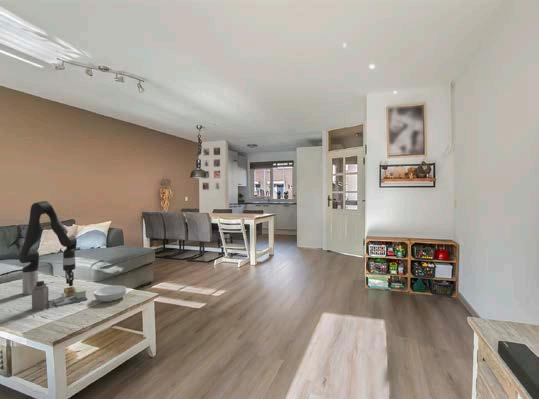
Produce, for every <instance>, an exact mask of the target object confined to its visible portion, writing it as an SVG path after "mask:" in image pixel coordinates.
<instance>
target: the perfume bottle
mask: <svg viewBox="0 0 539 399" xmlns="http://www.w3.org/2000/svg"><path fill="white" fill-rule="evenodd" d="M48 307H49V286H47V283H45V281H44V280H38V282H37V283H36V285H35V286H34V289H33V290H32V294H31V312H33V311H34V312H35V311H42V310H46V309H47V308H48Z"/></svg>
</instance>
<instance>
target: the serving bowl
mask: <svg viewBox="0 0 539 399" xmlns="http://www.w3.org/2000/svg"><path fill="white" fill-rule="evenodd" d="M127 289H128V288H127V287H126V286H124V285H108V286H104V287H100V288H97V289H96V290H94V292H93V296H94V298H95V299H96V300H97V301H100V302H113V300H114V301H116V300H119V299H121V298H123V297H124V296H125V295H126V292H127Z"/></svg>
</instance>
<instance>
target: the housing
mask: <svg viewBox="0 0 539 399" xmlns="http://www.w3.org/2000/svg"><path fill="white" fill-rule="evenodd" d="M74 291H75V297H76V298H77V299H80V298H84V297H87V296H86V294H87V290H86V289H85V288H84V287H81V288H76V289H75V290H74Z"/></svg>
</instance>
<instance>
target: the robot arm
mask: <svg viewBox="0 0 539 399" xmlns="http://www.w3.org/2000/svg"><path fill="white" fill-rule="evenodd" d="M29 212H30V213H29V220H28V224H27V229H26V232H25V236H24V242H23V245H22V247H21V249H20V252H19V256H18V261H19V262H20V263H21V264H28V265H26V266H24V267H23V268H22V270H21V271H22V272H21V273H22V278H21V279H22V286H21V287H22V295H24V296H29V295H32V290H33V289H34V286H35V285H36V283H37V282H38V281H39V266H40V265H39V263H40V262H39V261H40V253H39V250H37V249H32V248H33V246H34V245H35V244H37V243H38V242H39V241H40V239H41V238H42V234H43V231H44V229H43V228H44V227H43V226H42V224H41V222H40V221H41V216H42V215H44V214H45V215H47V216H48V217H49V220H50V229H52V231H53V232H54V234H55V235H56V236H57V238H58V242H59V243H60V245H61V246H62V247H65V249H64V250H63V252H62V253H63V254H62V257H63V258H62V259H63V260H62V270H63V271H64V273H65V281H66V282H65V283H66V284H68V286H69V287H73V285H74V280H75V278H74V277H75V276H74V275H75V274H74V271H73V270H75V269H76V247H77V243H78V242H77V239H76V237H75V236H74V235H73V236H68V232H69V231H68V229H67V228H66V227H65V226H64V225H63V223H62V222H61V220H60V218H59V216H58V215H57V212H56V211H55V209H54V206H53V205H52V204H51V203H50V202H49V201H47V200H43V201H39V202H38V201H37V202H34V203H32V204H31V206H30V211H29Z"/></svg>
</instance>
